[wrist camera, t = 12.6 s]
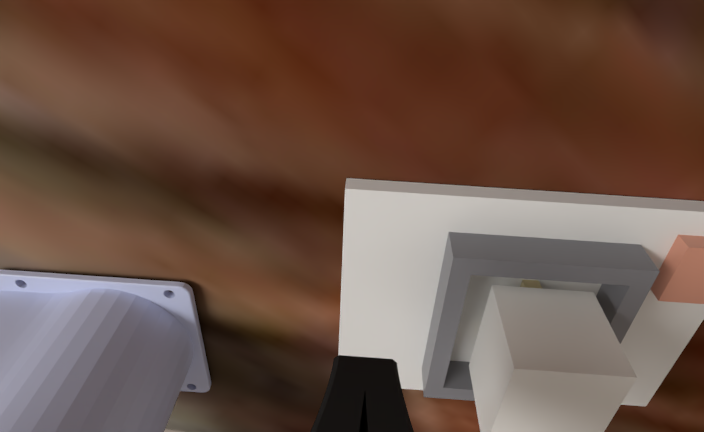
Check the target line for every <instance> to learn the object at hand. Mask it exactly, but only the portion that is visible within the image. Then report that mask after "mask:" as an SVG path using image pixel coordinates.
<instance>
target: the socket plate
mask: <svg viewBox="0 0 704 432" xmlns="http://www.w3.org/2000/svg"><path fill="white" fill-rule="evenodd" d="M522 280H537V281H539V282H540V284H541V287H542V288H543V289H557V290H571V291H585V292H594V294H595V296H596V298H597V300H598V302H599V304H600V306H601V308H602V310H603V312H604V314H605V316H606V318H607V320H608V322H609V323H610V325H611V327H612V329H613V331H614V333H615V335H616V337H617V339H618V341H619V343H620V345H621V347H622V349H623V351H624V353H625V355H626V357H627V359H628V361H629V363H630V365H631V367H632V369H633V370H634V372H635V374H636V376H637V379H636V380H635V382H634V384H633V385H632V387H631V389H630V390H629V392H628V394H627V395H626V397H625V398H624V400H623V402H622V403H621V405H633V406H647V404H648V403H649V401H650V400H651V398H652V397H653V395H654V394H655V392H656V391H657V389H658V388H659V386H660V385H661V383H662V382H663V380H664V378H665V377H666V375H667V374H668V372H669V371H670V369H671V368H672V366H673V365H674V363H675V362H676V360H677V359H678V357H679V356H680V354H681V353H682V351H683V350H684V348H685V347H686V345H687V344H688V342H689V341H690V339H691V338H692V336H693V335H694V333H695V332H696V330H697V329H698V327H699V326H700V324H701V323H702V321H703V320H704V201H694V200H678V199H663V198H647V197H632V196H616V195H601V194H585V193H570V192H554V191H539V190H523V189H508V188H492V187H477V186H461V185H446V184H430V183H415V182H399V181H384V180H368V179H353V178H346V186H345V204H344V230H343V255H342V280H341V305H340V330H339V355H343V356H357V357H371V358H385V359H393V360H394V361H395V362H397V368H398V374H399V379H400V384H401V388H402V389H415V390H423V393H424V397H431V398H445V399H458V400H472V401H475V398H474V393H473V387H472V381H471V375H470V370H469V363H470V360H471V356H472V353H473V349H474V346H475V342H476V339H477V335H478V332H479V328H480V325H481V321H482V318H483V314H484V311H485V307H486V304H487V300H488V297H489V294H490V290H491V287H492V285H500V286H514V287H520V286H521V283H522ZM339 355H338V356H339Z"/></svg>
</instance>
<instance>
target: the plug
mask: <svg viewBox="0 0 704 432" xmlns="http://www.w3.org/2000/svg"><path fill="white" fill-rule="evenodd" d="M469 370H470V375H471V381H472V387H473V393H474V398H475V404H476V410H477V415H478V421H479V427H480V432H604V431H605V429H606V428H607V426H608V424H609V423H610V421H611V420H612V418H613V416H614V415H615V413H616V411H617V410H618V408H619V407H620V405H621V403H622V402H623V400H624V398H625V397H626V395H627V394H628V392H629V390H630V389H631V387H632V385H633V384H634V382H635V380H636V379H637V376H636V374H635V372H634V370H633V369H632V367H631V365H630V363H629V361H628V359H627V357H626V355H625V353H624V351H623V349H622V347H621V345H620V343H619V341H618V339H617V337H616V335H615V333H614V331H613V329H612V327H611V325H610V323H609V322H608V320H607V318H606V316H605V314H604V312H603V310H602V308H601V306H600V304H599V302H598V300H597V298H596V296H595V294H594V292H585V291H571V290H557V289H543V288H542V287H541V284H540V282H539V281H537V280H522V283H521V286H520V287H514V286H500V285H492V287H491V290H490V294H489V297H488V300H487V304H486V307H485V311H484V314H483V318H482V321H481V325H480V328H479V332H478V335H477V339H476V342H475V346H474V349H473V353H472V356H471V360H470V363H469Z"/></svg>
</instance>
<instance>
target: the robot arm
mask: <svg viewBox="0 0 704 432" xmlns="http://www.w3.org/2000/svg"><path fill="white" fill-rule="evenodd" d="M168 290H170V291H172V292H170V291H168ZM210 387H211V378H210V373H209V368H208V363H207V358H206V353H205V348H204V343H203V338H202V333H201V328H200V323H199V318H198V313H197V308H196V304H195V299H194V294H193V290H192V288H191V287H190V286H189V285H188V284H186V283H183V282H174V281H160V280H145V279H131V278H117V277H102V276H88V275H73V274H59V273H45V272H30V271H16V270H0V432H164V430H165V428H166V425H167V423H168V420H169V418H170V415H171V413H172V410H173V408H174V405H175V403H176V400H177V398H178V395H179V393H180V391H187V392H201V393H203V392H207V391H209V390H210ZM311 432H414V431H413V428H412V425H411V422H410V419H409V415H408V412H407V408H406V404H405V401H404V397H403V393H402V389H401V384H400V379H399V374H398V368H397V362H395V361H394V360H393V359H385V358H371V357H357V356H343V355H339V356H337V357H335V358H334V362H333V367H332V372H331V376H330V379H329V383H328V386H327V390H326V393H325V396H324V398H323V401H322V404H321V407H320V410H319V412H318V415H317V417H316V420H315V422H314V425H313V427H312V429H311Z"/></svg>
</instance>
